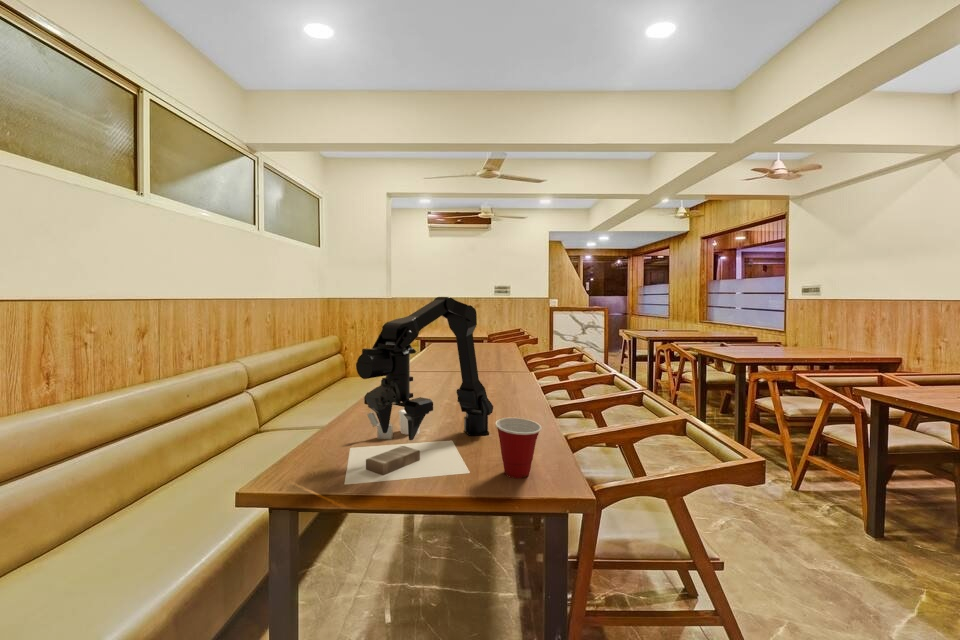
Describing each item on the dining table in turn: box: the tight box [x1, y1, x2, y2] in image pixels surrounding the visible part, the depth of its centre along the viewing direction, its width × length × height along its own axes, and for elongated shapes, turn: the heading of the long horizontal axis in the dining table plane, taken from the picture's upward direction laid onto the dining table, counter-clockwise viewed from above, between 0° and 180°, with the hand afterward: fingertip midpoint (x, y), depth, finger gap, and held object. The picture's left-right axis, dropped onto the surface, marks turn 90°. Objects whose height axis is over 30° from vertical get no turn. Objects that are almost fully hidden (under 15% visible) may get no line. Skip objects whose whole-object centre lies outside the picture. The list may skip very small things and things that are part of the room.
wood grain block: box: [366, 446, 420, 475], centre depth 105 cm, size 3×6×12 cm
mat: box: [344, 440, 471, 485], centre depth 108 cm, size 28×24×1 cm
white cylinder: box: [398, 408, 421, 436], centre depth 131 cm, size 7×7×7 cm
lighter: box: [367, 410, 394, 440], centre depth 125 cm, size 7×2×8 cm, turn 85°
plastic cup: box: [495, 417, 543, 479], centre depth 100 cm, size 11×11×12 cm
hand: (397, 436), depth 106 cm, fingers open, 9 cm apart
